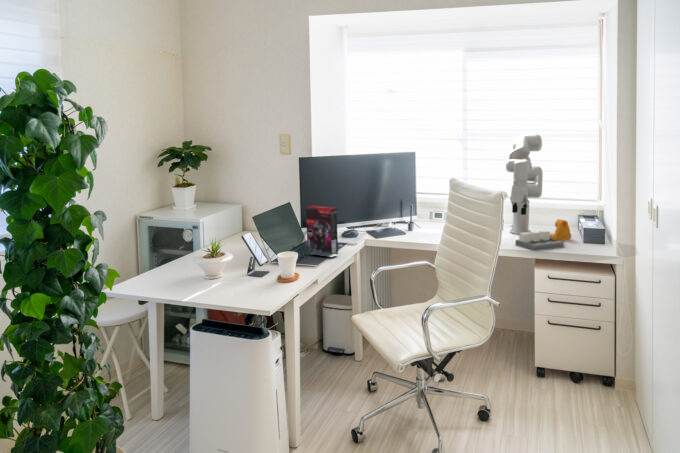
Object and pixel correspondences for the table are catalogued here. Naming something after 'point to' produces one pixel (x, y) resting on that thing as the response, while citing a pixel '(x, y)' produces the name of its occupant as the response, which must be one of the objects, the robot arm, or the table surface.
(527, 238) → the switch tab
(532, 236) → the switch tab
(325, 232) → the graphics card box
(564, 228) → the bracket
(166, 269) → the table surface
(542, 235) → the switch tab
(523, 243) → the dark grey tray
